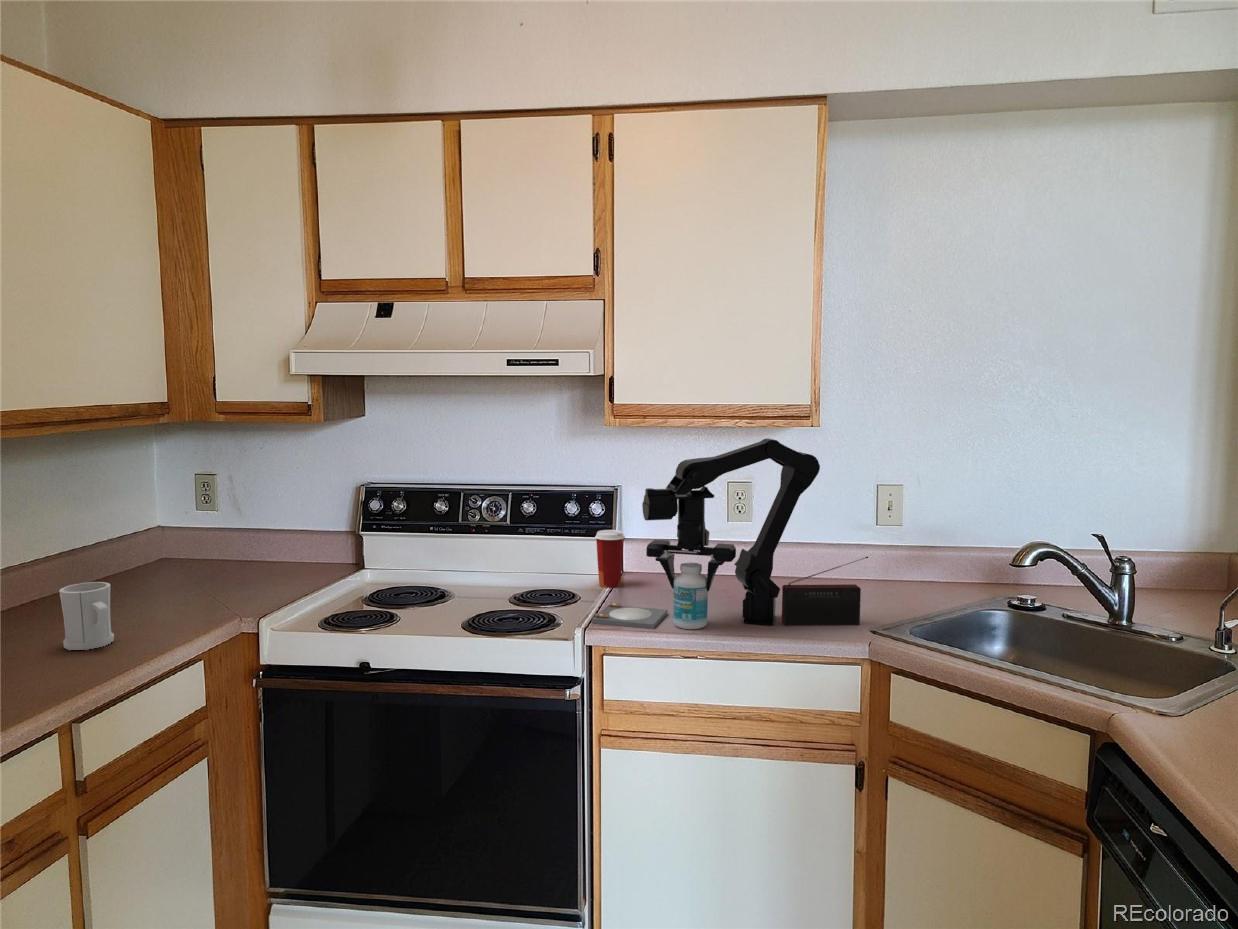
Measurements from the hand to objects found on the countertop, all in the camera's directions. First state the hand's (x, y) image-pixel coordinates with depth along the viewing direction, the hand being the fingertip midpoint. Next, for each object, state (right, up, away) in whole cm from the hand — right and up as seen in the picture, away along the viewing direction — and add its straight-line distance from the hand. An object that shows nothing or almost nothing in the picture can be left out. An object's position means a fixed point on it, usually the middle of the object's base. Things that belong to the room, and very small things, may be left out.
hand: (690, 589), depth 186 cm
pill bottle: (0, -8, +1) cm, 8 cm away
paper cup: (-18, -4, +36) cm, 40 cm away
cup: (-123, -10, -12) cm, 124 cm away
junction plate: (-13, -7, +6) cm, 16 cm away
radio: (+30, -8, +2) cm, 31 cm away
